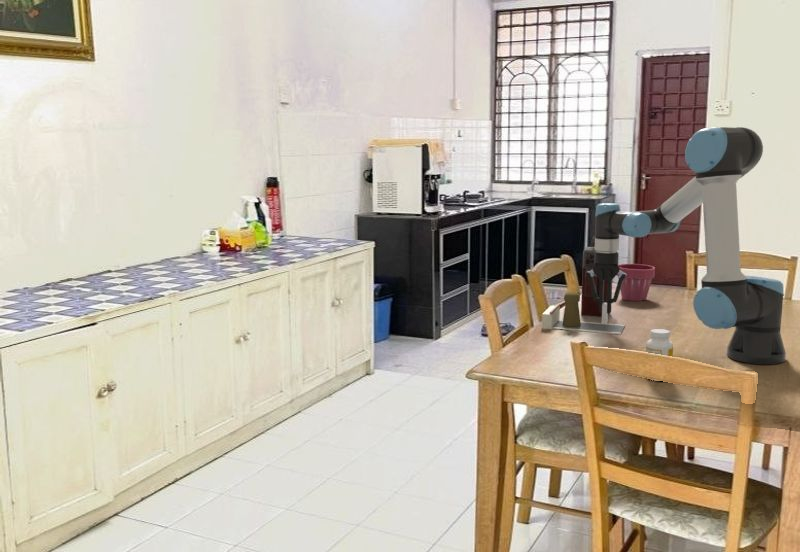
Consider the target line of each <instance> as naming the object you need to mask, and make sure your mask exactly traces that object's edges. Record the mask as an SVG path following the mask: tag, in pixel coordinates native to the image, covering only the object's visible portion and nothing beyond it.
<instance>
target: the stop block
mask: <svg viewBox="0 0 800 552" xmlns="http://www.w3.org/2000/svg"><path fill="white" fill-rule="evenodd" d="M560 309H561V305H560V303H556V304H555V305H550V306H549V307H548V308H547V309H546V310H544V312H543V313H542V314H541V329H542V330H553V329H552V327H553V326H554V325H555V324H556V323H557V322H558V320H560V319H561V318H560V317H561V316H560V314H561V312H560V311H561V310H560Z"/></svg>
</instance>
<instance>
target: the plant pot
mask: <svg viewBox="0 0 800 552" xmlns="http://www.w3.org/2000/svg"><path fill="white" fill-rule="evenodd" d="M618 266H619V268H620V271H622V272H623V273H626V274H627V275H626V277H625V278H624V279H623V282H622V285H621V289H620V295H621V299H622V300H624V301H628V300H629V302H643V301H642V300H645V301H647V299H648V298H647V297H648V295H649V291H650V287H651V284H652V280H653V279H654V278H655V275H656V274H655V273H656V267H655V266H653V265H648V264H641V263H622V264H621V263H620V264H618ZM618 275H619V274H617V275H616V277H617V278H618ZM618 280H619V278H618Z"/></svg>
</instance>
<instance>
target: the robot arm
mask: <svg viewBox="0 0 800 552" xmlns="http://www.w3.org/2000/svg"><path fill="white" fill-rule="evenodd" d="M763 149H764V146H763V141H762V139H761V137H760V136H759V135H758V134H757V132H755V131H754V130H753V129H750V128H747V127H738V126H737V127H727V126H725V127H722V126H721V127H720V126H715V127H714V126H713V127H707V128H702V129H699V130H698V131H696V132H695V133H693V134H692V136H691V138H690V139H689V140H688V142H687V144H686V148H685V152H684V157H685V158H684V159H685V163H686V165H687V166H688V167H689V169H690V170H691V171H693V172H694V173H695V176H694V177H693V178H692V179H691V180H689V181H688V182H687V183H686V184H684V185H683V186H682V187H681V188H680V189H678V190H677V191H676V192H675V193H674V194H673V195H671V196H670V197H669V198H668V199H667V200H665V201H664V202H663V203H662V204H661V205H659V206H658V207H657V208H655V209H650V210H649V209H648V210H639V211H638V210H637V211H627V210H626V211H624V210H621V206H620V204H619V203H615V202H614V203H613V202H612V203H611V202H608V203H606V202H603V203H598V204H597V205H596V207H595V215H594V218H595V221H594V222H595V223H594V224H595V225H594V226H595V227H594V236H595V250H596V251H597V252H595V258H594V266H593V269H592V270H591V271H588V272H587V273H586V276H587V278H588V279H589V283H590V287H591V292H592V296H593V300H594V301H596V302H598V303H599V313H602V317H601V323H602V324H608V322H609V321H608V319H609V314H611V312H612V304H613V303H616V302H617V301H618V299H619V296H620V293H621V290H620V289H621V285H622V282H623V279H624V278H625V277H626V275H627V274H626V273H623V272H622V271H620V268H619V266H618V265H619V254H620V253H619V252H618V251H619V250H620V249H619V247H620V236H627V237H631V238H643V237H646V236H647V235H655V234H656V235H657V234H670V233H673V232H676V230H677V231H678V229H679V227H680V224H681V221H682V220H683V219H684V218H686V217H687V216H688V215H689V214H691V213H692V212H693V211H694V210H696V209H697V208H699V207H700V206H703V207H702V211H703V227H704V228H703V230H704V246H705V247H704V248H705V249H704V250H705V262H706V265H705V266H706V273H705V275H704V276H703V277H702V278H701V279H700V281H701V288H700V289H699V290H697V291H696V294H695V295H694V297H693V305H692V306H693V311H694V313H695V315H696V317H697V318H698V320H699V321H700V322H701V323H702V324H703V325H704V326H706V327H708V328H710V329H713V330H719V329H720V330H721V329H723V330H727V329H731V328H734V331H733V333H732V335H731V339H730V340H729V342H728V346H727V349H726V350H727V351H726V356H727V357H728V358H730V359H731V360H734V361H737V362H741V363H746V364H747V363H748V364H754V365H766V366H767V365H778V364H783V363H784V362H785V361H786V355H787V354H786V348H785V345H784V341H783V338H782V334H781V329H782V317H783V316H782V314H783V303H784V302H783V301H784V295H785V294H784V283H783V282H782V281H781V280H778V279H775V278H769V277H762V276H754V275H745V274H744V273H743V272H742V267H741V251H740V249H741V247H740V234H739V232H740V231H739V212H738V193H737V183H738V181H739V180H740V179H742V177H744V176H745V175H747V174H748V173H749V172H751V171H752V170H753V169H754V168H755V167H756V166H757V165H758V163H759V162H760V161H761V159H762V157H763V152H764V150H763ZM594 273H595V274H596V276H597V277H598V278H599V298H598V295H597V291H596V286H595V282H594V278H593V276H594ZM617 274H619V275H618V276H617ZM615 277H617V278H619V279H618V281H617V284H616V287H615V291H614V294H613V280H614V279H615ZM604 280H607V303H605V302H603V301H604ZM608 313H609V314H608Z"/></svg>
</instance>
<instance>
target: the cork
mask: <svg viewBox="0 0 800 552" xmlns="http://www.w3.org/2000/svg"><path fill="white" fill-rule="evenodd" d="M580 299H581V295H580V294H579V293H578V292H574V291H569V292H566V293H565V294H564V296H563V300H564V303H565V305H564V312H563V317H562V320H563V324H562V325H563V326H565V327H579V326H581V322H582V321H581V317H580V316H581V313H580V307H579V302H580Z"/></svg>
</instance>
